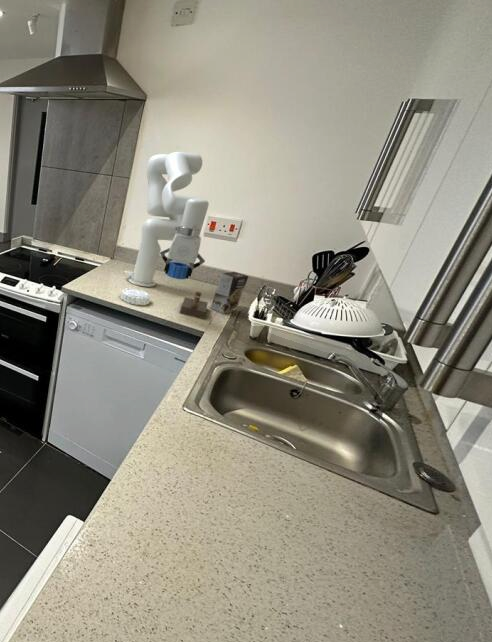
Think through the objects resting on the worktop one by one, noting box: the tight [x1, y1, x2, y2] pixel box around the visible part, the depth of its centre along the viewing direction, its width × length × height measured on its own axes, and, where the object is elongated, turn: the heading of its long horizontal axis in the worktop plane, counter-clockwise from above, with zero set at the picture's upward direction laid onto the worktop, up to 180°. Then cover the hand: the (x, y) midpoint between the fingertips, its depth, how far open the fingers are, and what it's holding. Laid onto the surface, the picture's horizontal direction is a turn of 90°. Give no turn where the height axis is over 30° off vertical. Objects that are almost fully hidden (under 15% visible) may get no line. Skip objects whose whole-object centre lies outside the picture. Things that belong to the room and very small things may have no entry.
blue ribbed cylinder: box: [166, 261, 190, 280], centre depth 156 cm, size 7×7×5 cm
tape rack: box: [179, 290, 209, 320], centre depth 163 cm, size 9×13×8 cm
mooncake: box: [120, 287, 151, 306], centre depth 170 cm, size 12×12×4 cm
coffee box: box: [209, 271, 249, 314], centre depth 165 cm, size 9×6×16 cm
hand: (176, 275), depth 157 cm, fingers closed on blue ribbed cylinder, 7 cm apart
